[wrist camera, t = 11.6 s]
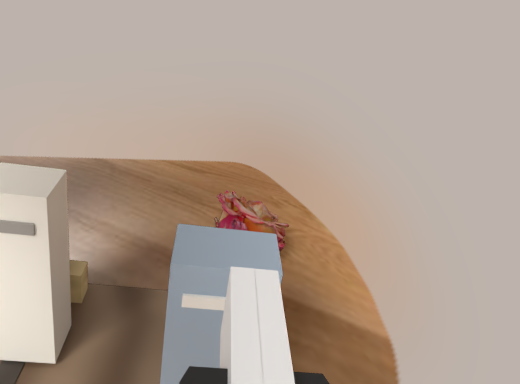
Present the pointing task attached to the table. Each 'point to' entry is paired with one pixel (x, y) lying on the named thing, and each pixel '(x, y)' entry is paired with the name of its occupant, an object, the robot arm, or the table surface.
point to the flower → (249, 217)
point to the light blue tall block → (206, 291)
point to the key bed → (103, 337)
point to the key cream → (33, 263)
